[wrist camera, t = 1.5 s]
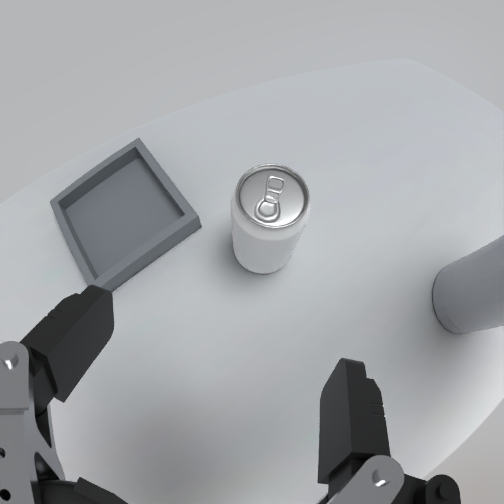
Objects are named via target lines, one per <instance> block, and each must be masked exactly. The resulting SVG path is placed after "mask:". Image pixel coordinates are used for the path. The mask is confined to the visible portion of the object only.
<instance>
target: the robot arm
mask: <svg viewBox="0 0 504 504" xmlns="http://www.w3.org/2000/svg"><path fill="white" fill-rule="evenodd" d="M433 304H434V309H435V312H436V315H437V317H438V319H439V321H440V322H441V324H442V325H443V326H444V327H445V328H446V329H447V330H449V331H450V332H453V333H455V334H463V333H468V332H474V331H479V330H485V329H490V328H494V327H499V326H503V325H504V235H503V236H501V237H500V238H498V239H496V240H495V241H493V242H491V243H489V244H488V245H486V246H484V247H482V248H480V249H479V250H477V251H475V252H473V253H471V254H469V255H468V256H466V257H464V258H462V259H460V260H458V261H456V262H454V263H452V264H450V265H448V266H446V267H445V268H444V269H442V270H441V272H440V273H439V274H438V276H437V278H436V280H435V283H434V287H433ZM113 330H114V315H113V297H112V293H111V291H109V290H106V289H104V288H101V287H98V286H96V285H89V286H88V287H87V288H86V289H85V290H84V291H83V292H82V293H81V294H80V295H79V294H77V293H75V294H73V295H71V296H69V297H67V298H64V299H63V300H62V301H61V302H60V303H59V304H58V305H57V306H56V307H55V309H52V310H51V311H50V312H49V313H48V315H47V316H45V317H44V318H43V319H42V320H41V321H40V322H39V323H38V324H37V325H36V326H35V327H34V328H33V329H32V330H31V331H30V332H29V333H28V334H27V335H26V336H25V337H24V338H23V339H22V340H21V341H20V342H15V341H8V342H4V343H2V344H0V504H128V503H126V502H125V501H123V500H122V499H121V498H119V497H118V496H116V495H115V494H114V493H111V492H109V491H107V490H105V489H103V488H101V487H99V486H97V485H95V484H93V483H91V482H89V481H87V480H85V479H83V478H81V477H79V479H78V481H77V483H76V482H71V481H66V480H65V476H64V472H63V469H62V466H61V463H60V461H59V458H58V456H57V452H56V447H55V441H54V434H53V426H52V418H51V409H50V404H49V403H50V401H51V400H52V399H53V397H55V398H56V399H58V400H60V401H62V402H63V403H64V402H65V401H66V399H67V398H68V396H69V395H70V393H71V392H72V391H73V389H74V388H75V386H76V385H77V384H78V382H79V381H80V379H81V378H82V377H83V375H84V374H85V372H86V371H87V370H88V368H89V367H90V365H91V364H92V363H93V361H94V360H95V359H96V357H97V356H98V355H99V353H100V352H101V351H102V349H103V348H104V346H105V345H106V344H107V342H108V341H109V340H110V338H111V336H112V333H113ZM382 405H383V402H382V396H381V391H380V389H379V388H378V386H377V384H376V383H375V381H374V379H369V378H367V377H366V371H365V365H364V363H363V362H360V361H355V360H350V359H345V358H341V359H340V360H339V362H338V364H337V365H336V367H335V369H334V371H333V372H332V374H331V376H330V377H329V379H328V381H327V383H326V384H325V386H324V388H323V391H322V394H321V398H320V434H319V464H318V483H321V484H329V487H328V493H326V494H325V495H324V496H323V497H322V498H321V499H320V500H319V501H318V502H317V503H316V504H461V500H460V492H459V488H458V485H457V483H456V482H455V481H454V480H453V479H452V478H451V477H449V476H447V475H436V476H434V477H433V478H431V479H430V480H428V481H425V480H422V479H419V478H415V477H412V476H409V475H406V474H404V472H403V469H402V467H401V466H400V464H399V463H398V462H397V461H396V460H394V459H393V458H391V455H390V449H389V441H388V434H387V427H386V420H385V417H384V415H385V414H384V408H383V407H382Z"/></svg>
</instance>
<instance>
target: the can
mask: <svg viewBox="0 0 504 504" xmlns="http://www.w3.org/2000/svg"><path fill="white" fill-rule="evenodd" d="M309 214H310V200H309V191H308V188H307V186H306V184H305V182H304V180H303V179H302V178H301V177H300V176H299V175H298V174H297V173H296V172H295V171H293V170H292V169H290V168H288V167H285V166H282V165H278V164H263V165H259V166H256V167H254V168H252V169H250V170H248V171H247V172H246V173H245V174H244V175H243V176H242V177H241V179H240V180H239V182H238V184H237V186H236V188H235V189H234V192H233V194H232V198H231V223H232V239H233V249H234V253H235V256H236V258H237V260H238V261H239V263H240V264H241V265H242V266H243V267H244V268H246V269H247V270H249V271H251V272H254V273H260V274H267V273H272V272H275V271H277V270H279V269H280V268H282V267H283V266H284V265H285V264H286V262H287V261H288V260H289V258H290V256H291V254H292V252H293V250H294V248H295V246H296V244H297V242H298V240H299V238H300V236H301V234H302V232H303V230H304V228H305V225H306V223H307V221H308V218H309Z"/></svg>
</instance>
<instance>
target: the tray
mask: <svg viewBox="0 0 504 504" xmlns="http://www.w3.org/2000/svg"><path fill="white" fill-rule="evenodd" d="M50 204H51V206H52V209H53V211H54V214H55V216H56V219H57V221H58V223H59V226H60V228H61V230H62V233H63V235H64V237H65V239H66V242H67V244H68V246H69V248H70V250H71V252H72V254H73V257H74V259H75V261H76V263H77V265H78V267H79V269H80V271H81V273H82V275H83V277H84V279H85V281H86V283H87V284H88V286H89V285H96V286H98V287H101V288H104V289H106V290H109V291H111V292H113V291H114V290H115V289H116V288H118V287H119V286H120V285H122V284H123V283H124V282H126V281H127V280H128V279H130V278H131V277H133V276H134V275H135V274H137V273H138V272H139V271H141V270H142V269H143V268H145V267H146V266H148V265H149V264H150V263H152V262H153V261H154V260H156V259H157V258H159V257H160V256H161V255H163V254H164V253H165V252H167V251H168V250H170V249H171V248H172V247H174V246H175V245H177V244H178V243H180V242H181V241H182V240H184V239H185V238H187V237H188V236H189V235H191V234H192V233H194V232H195V231H197V230H198V229H200V228H201V227H202V226H201V223H200V219H199V216H198V215H197V213H196V212H195V211H194V209H193V208H192V207H191V206H190V204H189V203H188V202H187V200H186V199H185V198H184V196H183V195H182V194H181V193H180V191H179V190H178V189H177V187H176V186H175V185H174V183H173V182H172V181H171V179H170V178H169V177H168V176H167V174H166V173H165V172H164V170H163V169H162V168H161V166H160V165H159V164H158V162H157V161H156V160H155V158H154V157H153V156H152V154H151V153H150V152H149V150H148V149H147V148H146V146H145V145H144V144H143V142H142V141H141V140H140V138H138V139H136V140H134V141H133V142H131V143H130V144H128V145H127V146H125V147H123V148H122V149H120V150H119V151H117V152H116V153H114V154H113V155H111V156H110V157H108V158H107V159H106V160H104V161H103V162H101V163H100V164H98V165H97V166H96V167H94V168H93V169H91V170H90V171H89V172H87V173H86V174H84V175H83V176H82V177H80V178H79V179H78V180H76V181H75V182H74V183H72V184H71V185H70V186H68V187H67V188H66V189H65V190H63V191H62V192H61V193H60V194H58V195H57V196H56V197H55V198H53V199H52V200H51V201H50Z"/></svg>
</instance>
